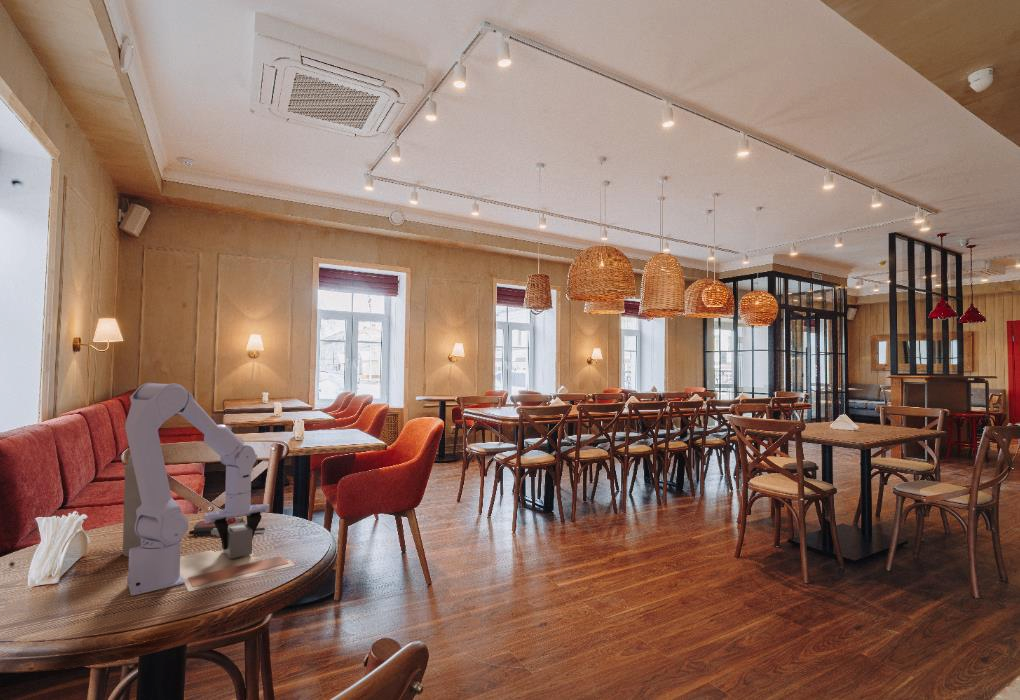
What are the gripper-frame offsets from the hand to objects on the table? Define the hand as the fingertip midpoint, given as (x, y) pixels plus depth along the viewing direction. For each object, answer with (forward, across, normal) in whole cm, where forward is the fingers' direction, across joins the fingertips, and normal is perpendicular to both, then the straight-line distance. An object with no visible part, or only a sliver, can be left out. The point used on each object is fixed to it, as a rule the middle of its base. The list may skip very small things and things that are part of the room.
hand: (237, 545), depth 129 cm
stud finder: (+2, 0, 0) cm, 2 cm away
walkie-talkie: (+3, -3, -21) cm, 21 cm away
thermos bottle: (+2, +18, -18) cm, 26 cm away
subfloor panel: (+2, +2, +5) cm, 5 cm away
